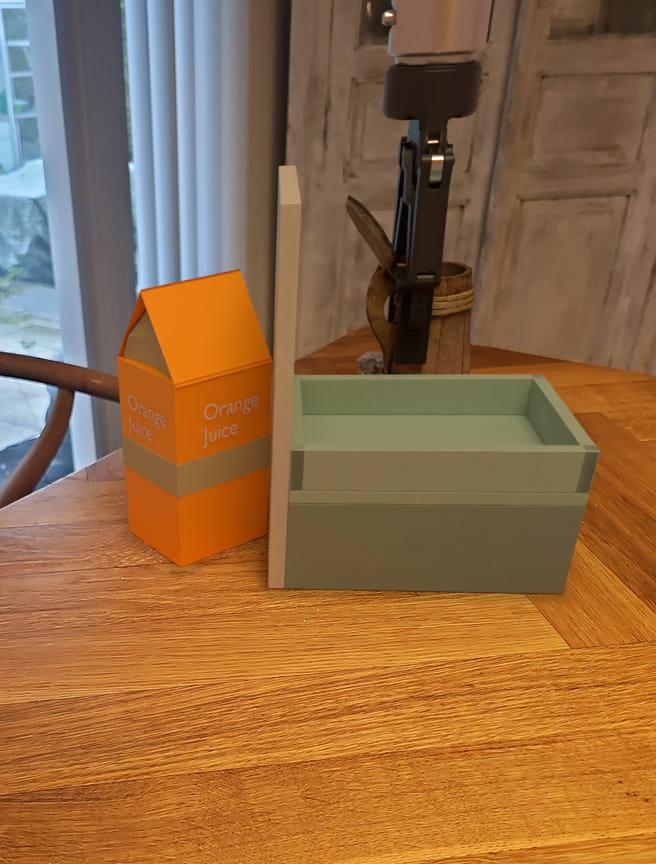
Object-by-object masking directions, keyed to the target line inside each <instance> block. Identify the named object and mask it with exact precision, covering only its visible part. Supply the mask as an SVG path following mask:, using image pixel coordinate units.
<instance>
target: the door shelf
mask: <svg viewBox="0 0 656 864" xmlns="http://www.w3.org/2000/svg"><path fill="white" fill-rule="evenodd" d="M277 178H278V179H277V180H278V182H277V210H276V211H277V215H276V221H277V222H276V243H275V244H276V245H275V247H276V248H275V249H276V250H275V251H276V252H275V254H276V255H275V278H274V281H275V283H274V311H273V312H274V313H273V347H272V361H273V362H272V387H271V420H270V435H271V445H270V467H269V487H268V527H267V535H268V541H267V544H268V545H267V546H268V547H267V549H268V550H267V551H268V552H267V555H268V556H267V589H278V590H279V589H283V590H284V589H285V590H335V591H337V590H338V591H340V590H342V591H383V592H385V591H386V592H387V591H388V592H391V591H394V592H436V593H437V592H438V593H442V592H445V593H446V592H447V593H488V594H489V593H494V594H496V593H498V594H543V595H544V594H545V595H551V594H553V595H563V594H564V591H565V587H566V584H567V579H568V576H569V572H570V569H571V564H572V562H573V557H574V553H575V549H576V546H577V541H578V538H579V535H580V530H581V527H582V523H583V518H584V515H585V512H586V506H587V503H588V500H589V496H590V493H591V489H592V485H593V481H594V477H595V473H596V471H597V466H598V462H599V460H600V459H599V458H600V455H601V450H600V449H599V448H598V446H597V445H596V444H595V442H594V441H593V439H592V438H591V437H590V435H589V434H588V433H587V432H586V430H585V429H584V428H583V426H582V425H581V423H580V422H579V421H578V420H577V418H576V417H575V416H574V414H573V412H572V411H571V410H570V408H569V407H568V405H566V403H565V402H564V401H563V399H562V398H561V397H560V395H559V393H558V392H557V391H556V390H555V388H554V387H553V386H552V384H551V382H549V380H548V379H547V378H546V377H545V375H544V374H543V373H526V374H525V373H515V374H514V373H512V374H511V373H507V374H506V373H505V374H504V373H503V374H501V373H497V374H496V373H495V374H494V373H493V374H492V373H488V374H487V373H486V374H485V373H484V374H483V373H482V374H481V373H479V374H477V373H476V374H473V373H472V374H450V375H358V374H295V357H296V356H295V355H296V336H297V334H296V333H297V313H298V310H297V309H298V292H299V291H298V289H299V288H298V287H299V269H300V268H299V267H300V247H301V246H300V245H301V224H302V223H301V222H302V197H301V192H300V185H299V178H298V172H297V166H296V165H279V166H278V177H277Z"/></svg>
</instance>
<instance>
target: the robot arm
mask: <svg viewBox="0 0 656 864" xmlns="http://www.w3.org/2000/svg"><path fill="white" fill-rule="evenodd" d="M492 3H493V0H391V3H390V4H391V5H392V9H390V10H389V9H388V10H385V11H384V12H383V14H382V16H381V24H382V25H383V26H387V27H388V26H391V28H390V29H389V32H388V43H387V54H388V55H389V56H390V57H394V64H390V65H388V66H387V67H388V68H387V69H386V70H385V71H384V72H385V73H384V83H383V84H384V86H383V99H382V100H383V101H382V114H383V116H384V117H385V118H386V119H389V120H395V121H408V129H407V135H402V136H401V137H400V141H399V144H398V151H397V160H398V173H397V179H396V180H397V181H396V192H395V193H396V195H395V203H394V214H393V225H392V233H391V241H390V243H391V244H392V246H393V248H394V251H395V253H396V261H397V263H398V264H406V274H405V280H404V282H398V283H397V284H396V291H401V299H400V310H399V320H398V331H397V341H396V352H395V364H426V358H427V350H428V341H429V332H430V324H431V315H432V307H433V298H434V290H435V287H439V286H440V283H441V279H442V277H441V269H442V262H443V258H444V247H445V237H446V227H447V218H448V208H449V197H450V187H451V181H452V174H453V168H454V166H455V164H456V163H455V162H456V158H455V153H454V143H449V141H448V130H449V129H448V125H449V124H448V123H449V121H450V120H452V119H462V118H466V117H470V116H472V115H473V114H475V112H476V111H477V109H478V107H479V97H480V91H481V83H482V74H483V68H484V66H483V65H481V64H482V63H481V61H480V60H477V59H478V54H479V53H482V52H484V51H485V49H486V47H487V41H488V34H489V33H488V32H489V24H490V18H491V10H492ZM420 271H429V272H420ZM395 295H396V293H394V294H391V295H390V296H389V297H388V306H387V317H386V319H387V321H389V322H394V318H395V313H396V307H397V305H395V304H394V297H395Z"/></svg>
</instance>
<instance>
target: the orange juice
mask: <svg viewBox="0 0 656 864" xmlns="http://www.w3.org/2000/svg"><path fill="white" fill-rule="evenodd" d="M116 367H117V381H118V392H119V394H118V395H119V406H120V407H119V408H120V421H121V422H120V423H121V442H122V445H121V446H122V459H123V465H124V475H125V489H126V490H125V491H126V501H127V502H126V504H127V516H128V517H127V518H128V528H129V529H128V530H129V532H130V533H131V534H132V535H134V536H135V537H137V538H138V539H140V540H141V541H143V542H144V543H145V544H146V545H148V546H150V547H151V548H152V549H153V550H155V551H157V552H158V553H159V554H161V555H162V556H164V557H165V558H166V559H168V561H171V562H172V563H174V564H175V565H176V566H178V567H179V568H183V567H186V566H189V565H191V564H194V563H197V562H199V561H201V560H204V559H206V558H207V559H208V558H209V557H211V556H215V555H217V554H220V553H222V552H225V551H227V550H230V549H232V548H235V547H237V546H240V545H242V544H243V545H244V544H245V543H248V542H251V541H253V540H255V539H256V540H257V539H259V538H261V537H263V536H266V535H268V522H269V473H270V445H271V407H272V375H273V356H272V355H271V353H270V351H269V347H268V345H267V342H266V339H265V337H264V334H263V331H262V328H261V325H260V322H259V318H258V317H257V314H256V311H255V309H254V305H253V302H252V300H251V296H250V294H249V291H248V288H247V286H246V283H245V280H244V278H243V275H242V272H241V268H237V269H232V270H227V271H223V272H222V271H221V272H218V273H213V274H208V275H204V276H198V277H194V278H190V279H184V280H180V281H175V282H170V283H164V284H160V285H156V286H151V287H147V288H142V289H141V288H140V290H139V294H138V296H137V299H136V302H135V305H134V308H133V311H132V313H131V316H130V320H129V322H128V325H127V327H126V331H125V333H124V337H123V340H122V342H121V345H120V348H119V351H118V354H117V356H116Z"/></svg>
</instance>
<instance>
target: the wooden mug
mask: <svg viewBox="0 0 656 864" xmlns="http://www.w3.org/2000/svg"><path fill="white" fill-rule="evenodd" d="M345 209H346V211H347V214H348V216H349V218H350V219H351V221H352V223H353V224H354V226H355V228H356V230H357V231H358V233H359V235H360V236H361V237H362V239H363V241H364V242H365V243H366V244H367V245H368V247H369V249H370V251H372V253H373V254H374V256H375V257H376V259H377V260H378V262H379V263H378V264H377V268H376V269H375V271H374V273H373V274H372V276H371V279H370V281H369V283H368V287H367V289H366V296H365V297H366V298H365V311H366V319H367V322H368V325H369V326H370V329H371V332H372V334H373V335H374V337H375V339H376V341H377V343H378V345H379V347H380V350H381V353H383V364H384V366H383V367H382V368H381V370H380V373H379V375H450V374H473V370H472V369H471V327H472V326H471V321H472V320H471V317H472V307H473V306H475V304H476V289H475V286H474V284H473V267H471V266H469V265H467V264H465V263H463V262H459V261H442V269H441V277H442V279H441V283H440V286H439V287H435V290H434V298H433V307H432V315H431V324H430V332H429V341H428V350H427V358H426V364H395V352H396V341H397V331H398V320H399V310H400V299H401V291H396V284H397V283H398V282H404V280H405V274H406V264H398V263H397V261H396V253H395V251H394V248H393V246H392V244H391V241H390V239H389V237H388V236H387V233H386V232H385V230H384V229H383V227H382V226H381V224H380V223H379V222H378V220H377V219H376V218H375V217H374V215H373V214H372V213H371V212H370V210H369V209H368V208H367V207H366V206H365V205H364V204H363V203H362V202H360V200H358V199H356V198H355V197H353V196H352V195H350V194H347V197H346V199H345ZM420 272H429V271H420ZM394 293H396V295H395V297H394V304H395V305H397V307H396V313H395V318H394V322H389V321H387V317H386V315H385V313H384V312H385V304H386V302H387V300H388V299H389V296H390V295H391V294H394Z"/></svg>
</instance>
